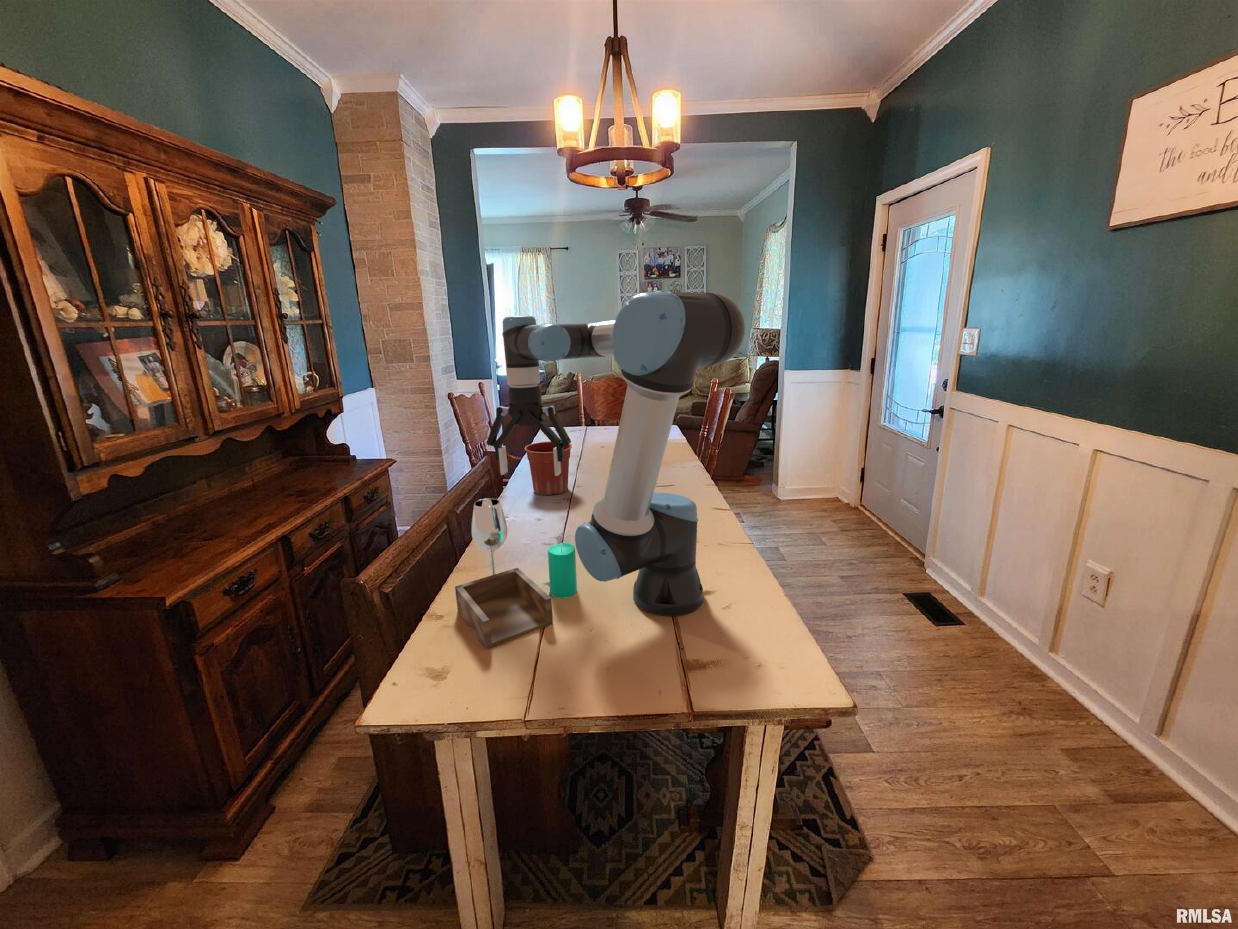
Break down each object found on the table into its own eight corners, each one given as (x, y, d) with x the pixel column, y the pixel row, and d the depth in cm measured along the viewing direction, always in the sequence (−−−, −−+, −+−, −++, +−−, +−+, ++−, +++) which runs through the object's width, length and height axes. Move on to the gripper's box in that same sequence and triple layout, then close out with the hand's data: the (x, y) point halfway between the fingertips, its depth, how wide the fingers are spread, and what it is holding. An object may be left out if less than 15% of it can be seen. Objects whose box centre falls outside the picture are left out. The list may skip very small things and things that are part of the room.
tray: (552, 623, 103) (551, 598, 102) (485, 649, 95) (483, 621, 94) (519, 591, 116) (517, 567, 114) (457, 611, 108) (454, 586, 107)
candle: (577, 584, 118) (575, 536, 115) (576, 597, 113) (574, 547, 109) (551, 584, 118) (548, 536, 115) (548, 598, 112) (545, 548, 109)
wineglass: (477, 594, 114) (468, 510, 109) (476, 578, 122) (468, 498, 116) (512, 589, 116) (506, 506, 111) (510, 573, 124) (504, 495, 118)
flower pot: (524, 485, 189) (521, 443, 185) (568, 481, 194) (566, 439, 189) (531, 500, 174) (527, 454, 169) (578, 494, 179) (576, 449, 174)
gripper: (580, 383, 120) (584, 470, 126) (480, 384, 125) (488, 468, 130) (572, 386, 113) (577, 479, 119) (466, 388, 118) (475, 477, 123)
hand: (530, 474), depth 124 cm, fingers open, 13 cm apart
